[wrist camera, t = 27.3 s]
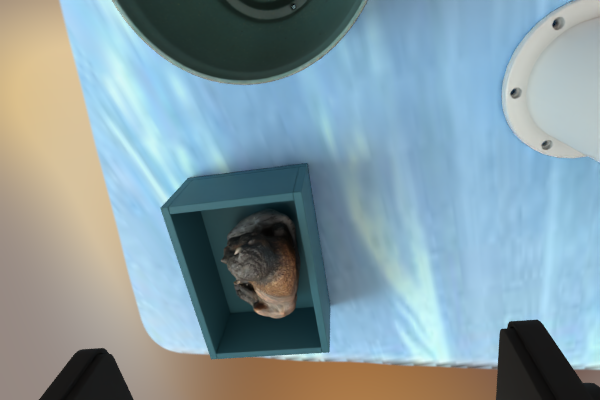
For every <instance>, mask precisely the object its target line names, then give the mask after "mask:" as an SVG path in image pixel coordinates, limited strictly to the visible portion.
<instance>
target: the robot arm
mask: <svg viewBox="0 0 600 400" xmlns="http://www.w3.org/2000/svg"><path fill="white" fill-rule="evenodd" d="M554 20H555V21H556V24H555V26H554V27H553V25H552V24H553V21H554ZM513 89H514V90H515V91H514V93H513V94H510V93H511V91H512V90H513ZM501 97H502V106H503V112H504V115H505V118H506V121H507V123H508V125H509V126H510V128H511V130H512V131H513V133H514V134H515V135H516V136H517V137H518V138H519V139H520V140H521V141H522V142H523V143H525V144H526V145H528V146H529V147H531V148H532V149H534V150H536V151H538V152H540V153H542V154H545V155H549V156H553V157H557V158H579V157H587V156H588V157H590V158H592V159H594V160H596V161H597V162H599V163H600V0H575V1H572V2H569V3H567V4H565V5H563V6H562V7H560V8H558V9H556V10H554V11H553V12H551V13H550V14H549V15H547V16H546V17H545V18H543V19H542V20H541V21H540V22H538V23H537V24H536V25H535V26H534V27H533V28H532V29H531V30H530V31H529V32H528V34H527V35H526V36H525V37H524V38H523V40H522V41H521V42H520V44H519V45H518V47H517V48H516V50H515V51H514V53H513V55H512V57H511V59H510V61H509V64H508V66H507V69H506V72H505V76H504V79H503V85H502V96H501ZM544 141H545V143H544V144H542V143H543V142H544ZM497 375H498V376H497V394H496V400H600V387H599V386H597V385H596V384H594V383H582V381H581V380H580V379H579V377H578V376H577V374H576V373H575V371H574V370H573V368H572V367H571V365H570V364H569V362H568V361H567V359H566V358H565V356H564V355H563V353H562V352H561V350H560V349H559V348H558V346H557V345H556V343H555V342H554V340H553V339H552V337H551V336H550V334H549V333H548V331H547V330H546V328H545V327H544V325H543V324H542V323H541V322H540V321H539V320H526V321H511V322H509V323H508V328H507V329H501V330H500V338H499V356H498V374H497ZM39 400H133V398H132V396H131V393H130V391H129V389H128V387H127V385H126V383H125V381H124V378H123V376H122V374H121V372H120V370H119V368H118V366H117V363H116V361H115V359H114V357H113V356H112V355H111V354H109V353H108V352H107V350H105V349H104V348H98V349H83V350H79V351H78V352H77V353H75V354H74V356H73V357H72V358H71V359H70V361H69V362H68V363H67V364H66V366H65V367H64V368H63V370H62V371H61V372H60V373H59V375H58V376H57V377H56V379H55V380H54V381H53V382H52V384H51V385H50V386H49V388H48V389H47V390H46V392H45V393H44V394H43V395H42V397H41V398H40V399H39Z"/></svg>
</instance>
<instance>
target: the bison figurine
mask: <svg viewBox="0 0 600 400" xmlns="http://www.w3.org/2000/svg"><path fill="white" fill-rule="evenodd" d="M227 240H228V242H227V247H225V248H224V253H223V254H224V257H223V258H222V259H221V262H223V263H225V264H227V268H228V270H229V271H230V272H231V274H232V275H233V276H234V277H235V278H236V281H235V282H234V287H235V290H236V294H237V296H239V298H240V299H242V300H244V301H246V302H247V303H249V304H251V305H252V306H253V310H254V311H255V312H256V313H258V314H260V315H262V316H268V317H271V318H282V317H285V316H286V315H289V314H290V313H292V312H293V311H294V309H295V307H296V301H297V289H298V284H299V274H300V263H301V261H300V256H299V251H298V247H297V240H296V230H295V225H294V223H293V221H292V220H291V219H290V218H289V217H288V216H287V215H285V214H283V213H280V212H278V211H276V210H273V209H264V210H261V211H258V212H256V213H254V214H252V215H249V216H248V217H246V218H244V219H243V220H241V221H240V222H239V223H238V224H237V225H236V226H235V227H234V228H233V229H232V230H231V231H230V232H229V234H228V235H227Z"/></svg>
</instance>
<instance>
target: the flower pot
mask: <svg viewBox="0 0 600 400" xmlns="http://www.w3.org/2000/svg"><path fill="white" fill-rule="evenodd" d="M112 1H113V3H114V5H115V6H116V8H117V10H118V11H119V12H120V14H121V15H122V17H123V18H124V19H125V21H126V22H127V23H128V24H129V26H130V27H131V28H132V29H133V30H134V31H135V33H136V34H137V35H138V36H139V37H140V38H141V39H142V40H143V41H144V42H145V43H146V44H147V45H149V46H150V47H151V48H152V49H153V50H154V51H155V52H157V53H158V54H159V55H160V56H162V57H163V58H164V59H166V60H167V61H169V62H170V63H172V64H173V65H175V66H177V67H179V68H181V69H183V70H185V71H187V72H189V73H191V74H193V75H196V76H198V77H201V78H204V79H207V80H211V81H215V82H220V83H226V84H237V85H251V84H261V83H267V82H271V81H275V80H279V79H282V78H285V77H288V76H290V75H293V74H295V73H297V72H300V71H302V70H303V69H305V68H307V67H308V66H310V65H312V64H313V63H315V62H316V61H318V60H319V59H321V58H322V57H323V56H324V55H325V54H327V53H328V52H329V51H330V50H331V49H332V48H334V47H335V46H336V45H337V43H338V42H339V41H340V40H341V39H342V38H343V37H344V36H345V34H346V33H347V32H348V31H349V30H350V28H351V27H352V26H353V24H354V23H355V21H356V20H357V18H358V17H359V15H360V13H361V12H362V10H363V8H364V6H365V5H366V3H367V1H368V0H112ZM292 4H295V5H296V8H295V9H292V7H291V6H292Z"/></svg>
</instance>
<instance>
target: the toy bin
mask: <svg viewBox="0 0 600 400" xmlns="http://www.w3.org/2000/svg"><path fill="white" fill-rule="evenodd" d="M264 209H273V210H276V211H278V212H280V213H283V214H285V215H287V216H288V217H289V218H290V219H291V220H292V221H293V223H294V225H295V230H296V240H297V247H298V251H299V256H300V261H301V263H300V274H299V284H298V289H297V301H296V307H295V309H294V311H293V312H292V313H290V314H289V315H286V316H285V317H282V318H271V317H268V316H262V315H260V314H258V313H256V312H255V311H254V310H253V306H252V305H251V304H249V303H247V302H246V301H244V300H242V299H240V298H239V296H237V294H236V290H235V287H234V282H235V281H236V278H235V277H234V276H233V275H232V274H231V272H230V271H229V270H228V268H227V264H225V263H223V262H221V259H222V258H223V257H224V254H223V253H224V248H225V247H227V242H228V240H227V235H228V234H229V232H230V231H231V230H232V229H233V228H234V227H235V226H236V225H237V224H238V223H239V222H240V221H241V220H243V219H244V218H246V217H248V216H249V215H252V214H254V213H256V212H258V211H261V210H264ZM161 211H162V214H163V217H164V220H165V223H166V226H167V229H168V232H169V235H170V238H171V241H172V244H173V247H174V250H175V253H176V256H177V259H178V262H179V265H180V268H181V271H182V274H183V277H184V280H185V283H186V286H187V289H188V292H189V295H190V298H191V301H192V304H193V307H194V310H195V313H196V316H197V319H198V322H199V324H200V327H201V330H202V333H203V336H204V339H205V342H206V345H207V348H208V351H209V354H210V357H211V359H224V358H241V357H258V356H275V355H292V354H309V353H322V352H323V353H326V352H329V347H330V301H329V295H328V289H327V283H326V276H325V270H324V264H323V258H322V252H321V245H320V239H319V233H318V227H317V221H316V215H315V208H314V202H313V196H312V190H311V184H310V178H309V171H308V165H307V163H304V164H297V165H289V166H281V167H273V168H265V169H257V170H249V171H241V172H234V173H226V174H218V175H210V176H202V177H194V178H188V179H187V180H186V181H185V182H184V183H183V184H182V185H181V186H180V188H179V189H178V190H177V191H176V192H175V193H174V194H173V195H172V196H171V197H170V198H169V199H168V201H167V202H166V203H165V204H164V205H163V206H162V207H161Z"/></svg>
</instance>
